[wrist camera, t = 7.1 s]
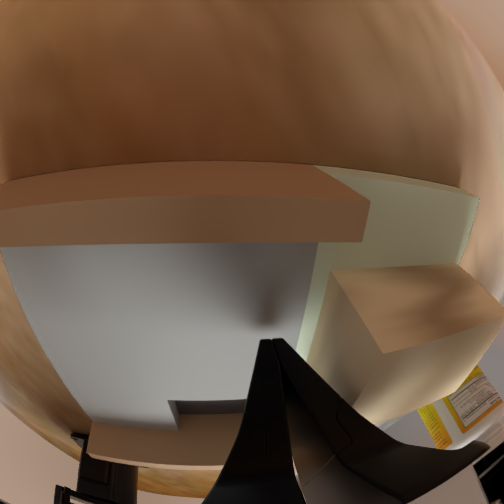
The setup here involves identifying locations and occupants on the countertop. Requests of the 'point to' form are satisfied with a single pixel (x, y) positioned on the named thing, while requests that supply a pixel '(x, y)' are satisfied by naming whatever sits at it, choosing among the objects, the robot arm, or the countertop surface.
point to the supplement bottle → (466, 415)
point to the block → (401, 335)
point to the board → (199, 282)
